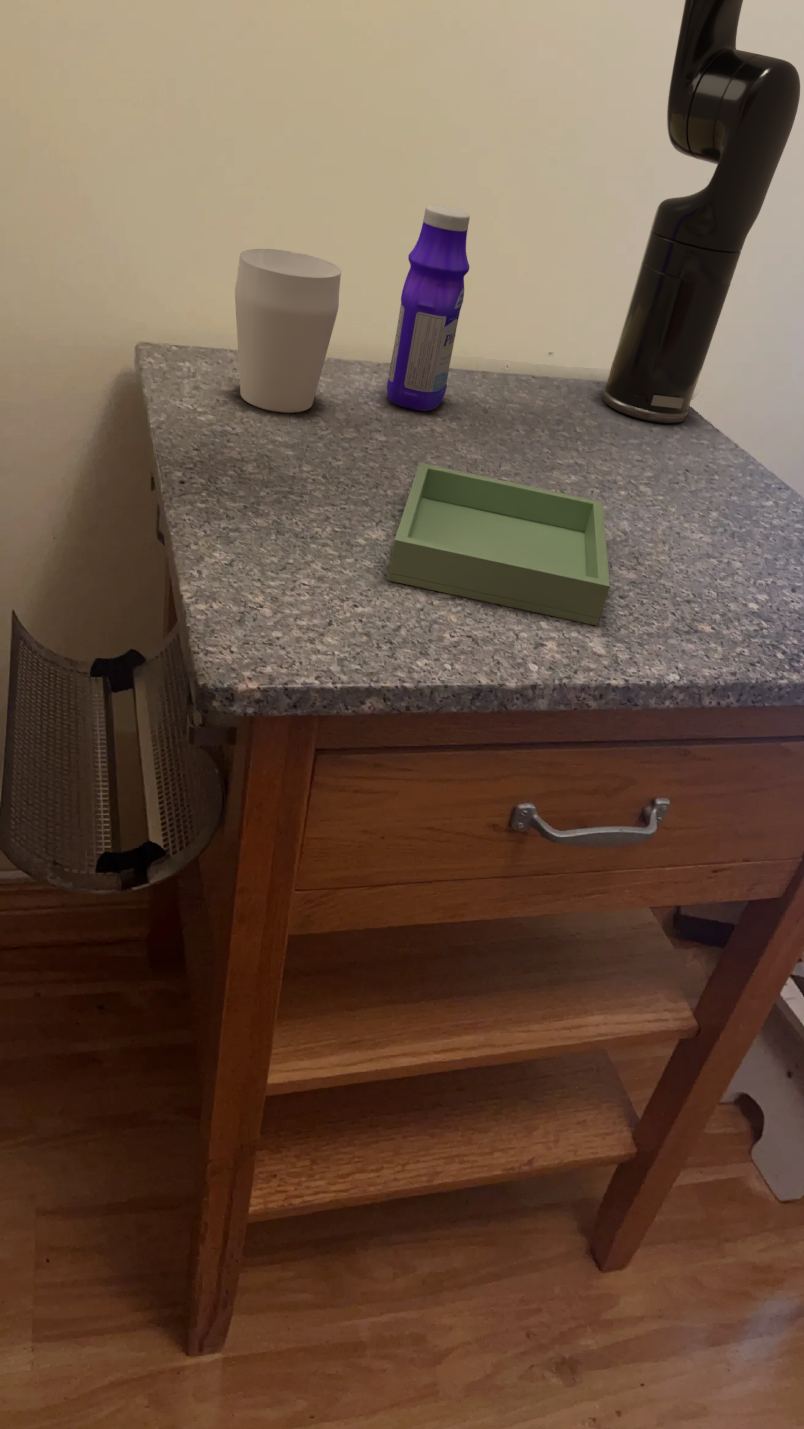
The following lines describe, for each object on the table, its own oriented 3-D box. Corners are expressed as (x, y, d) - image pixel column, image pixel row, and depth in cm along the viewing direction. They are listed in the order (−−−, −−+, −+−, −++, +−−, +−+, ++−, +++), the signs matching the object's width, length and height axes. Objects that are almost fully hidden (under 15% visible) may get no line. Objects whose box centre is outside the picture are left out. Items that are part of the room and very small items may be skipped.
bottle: (435, 419, 99) (474, 222, 89) (378, 405, 99) (410, 208, 89) (447, 397, 104) (485, 211, 95) (393, 384, 105) (425, 197, 95)
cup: (344, 406, 97) (363, 272, 90) (285, 426, 90) (301, 283, 83) (268, 376, 100) (281, 245, 93) (206, 393, 93) (215, 253, 87)
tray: (412, 498, 82) (419, 462, 80) (592, 537, 82) (603, 501, 80) (386, 580, 70) (394, 539, 68) (597, 626, 70) (610, 586, 68)
